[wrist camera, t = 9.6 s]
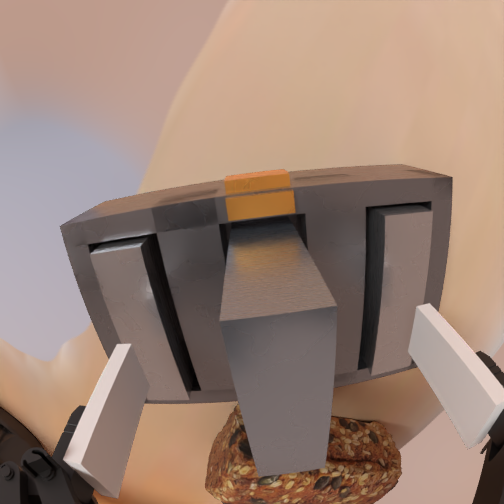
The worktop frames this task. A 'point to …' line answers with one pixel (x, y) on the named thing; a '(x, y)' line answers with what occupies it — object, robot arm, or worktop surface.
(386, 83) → the worktop surface
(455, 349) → the robot arm
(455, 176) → the worktop surface
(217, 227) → the rack
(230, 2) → the worktop surface
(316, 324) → the block
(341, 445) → the bread
